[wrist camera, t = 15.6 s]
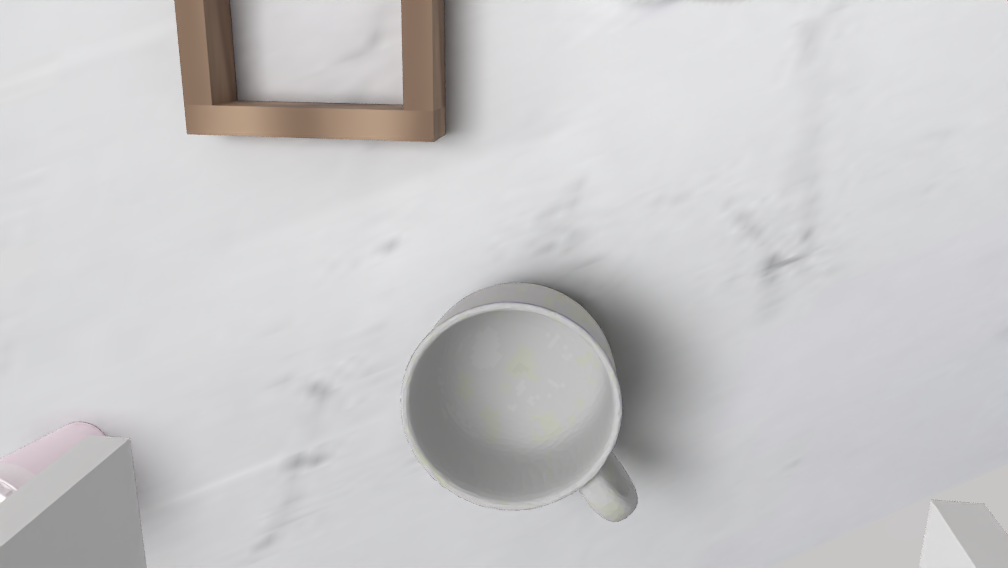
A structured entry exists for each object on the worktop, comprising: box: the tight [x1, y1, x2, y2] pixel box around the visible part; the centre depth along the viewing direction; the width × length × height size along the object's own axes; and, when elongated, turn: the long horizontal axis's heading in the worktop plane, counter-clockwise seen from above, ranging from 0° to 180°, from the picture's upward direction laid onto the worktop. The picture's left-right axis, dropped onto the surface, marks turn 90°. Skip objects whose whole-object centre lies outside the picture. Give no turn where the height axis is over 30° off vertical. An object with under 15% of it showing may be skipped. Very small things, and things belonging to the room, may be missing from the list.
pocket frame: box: [174, 0, 445, 142], centre depth 43 cm, size 13×13×3 cm
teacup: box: [400, 283, 638, 522], centre depth 45 cm, size 14×11×8 cm
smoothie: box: [0, 422, 105, 503], centre depth 47 cm, size 6×6×14 cm
